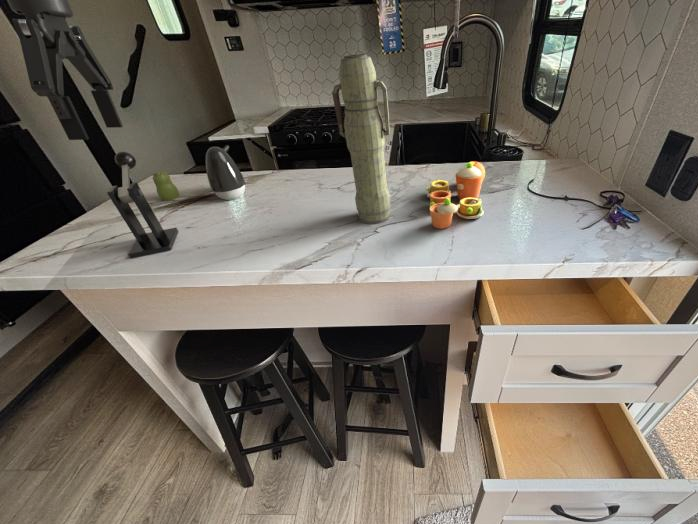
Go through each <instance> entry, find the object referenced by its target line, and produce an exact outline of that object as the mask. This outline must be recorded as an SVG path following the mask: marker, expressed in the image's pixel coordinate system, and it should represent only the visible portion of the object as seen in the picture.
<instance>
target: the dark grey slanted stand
mask: <svg viewBox="0 0 698 524" xmlns="http://www.w3.org/2000/svg"><path fill="white" fill-rule="evenodd" d="M118 188H119V185H112V187H110V188H109V190H107V191H106V194H107V195H108V197H109V199H110V200H111V202H112V204H113V205H114V207H115V208H116V210H117V211H118V213H119V215H120V216H121V218H122V219H123V221H124V222H125V224H126V226H127V227H128V228H129V230H130V232H131V233H132V235H133V236H134V238H135V242H134V243H133V245H132V247H131V248H130V250H129V252H128V253H127V255H128V257H129V259H136V258H140V257H143V256H149V255H154V254H155V255H156V254H159V253H164V252H170V251H172V249H173V247H174V244H175V241H176V239H177V236H178V234H179V230H178V228H177V227H171V228H166V229H164V228H163V227H162V225H161V223H160V221H159V219H158V217H157V215H156V214H155V213H154V210H153V209H152V207H151V205H150V203H149V202H148V200H147V198H146V196H145V194H144V193H143V191H142V189H141V187H140V186H139V184H138V182H137V181H136V182H132V183H130V186H129V187H128V188H127V190H128V192H129V194H130V195H131V197H132V199H133V201H134V202H133V203H134V204H135V206H136V207H137V210H138V211H139V213H140V215H141V216H142V218H143V220H144V221H145V222H146V224H147V226H148V228H149V230H150V231H151V232H150V231H149V232H146V230H145V228H144V226H143V225H142V224H141V221H140V220H139V219H138V217H137V215H136V214H135V212H134V210H133V209H132V207H131V205H130V203H126V204H125V203H124V202H123V201H122V200H121V199H120V198H119V197H118Z"/></svg>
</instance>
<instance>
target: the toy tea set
mask: <svg viewBox="0 0 698 524" xmlns="http://www.w3.org/2000/svg"><path fill="white" fill-rule="evenodd" d="M471 162H472V161H469V162H467V163H468V164H467V163H466V164H467V166H466V167H464V166H463V167H461V168H460V169H459V170H458V171H457V172H456V173H455V184H456V193H457V198H458V200H459V199H460V200H459V204H454V203H453V202H451V198H452V191H451V190H450V188H449V187H450V182H448V181H446V180H442V179H439V178H437V179H436V180H433V181H431V182H429V183H430V184H429V187H428V186H426V189H425V190H426V191H427V192H428V193H427V194H426V196H427V198H429V200H430V203H429V214H430V220H431V225H432V227H434V228H435V229H441V230H442V229H447V228H449V227H450V226H451V225H452V221H453V214H455V213H456V215H457V216H458V217H460V218H463V219H465V220H466V219H467V220H473V219H478V218H481V217H482V216H483V215H484V210H483V205H482V204H483V201H482V199H481V198H480V199H479V196H480V191H481V188H482V183H483V181H484V179H483V173H482V172H481V171H480V170H479V169H477V168H476V167H473V164H472V163H471ZM482 180H483V181H482Z"/></svg>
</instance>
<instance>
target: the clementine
mask: <svg viewBox="0 0 698 524" xmlns="http://www.w3.org/2000/svg"><path fill="white" fill-rule="evenodd" d="M470 162H471V163H472V164H473V167H476V168H477V169H479V170H480V171H481V172H482V173H483V180H482V182H483V181H484V179H485V176H486V171H485V170H486V169H485V167H484V165H483V164H482V163H481V162H479V161H476V160H473V161H470ZM468 163H469V162H467V163H465V165H464V166H463V167H466V166H467V164H468Z"/></svg>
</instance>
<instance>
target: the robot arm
mask: <svg viewBox="0 0 698 524" xmlns="http://www.w3.org/2000/svg"><path fill="white" fill-rule="evenodd" d="M6 1H7V3H8V5H9V7H10V9H11V10H12V12H14V13H15V14H18V15H22V16H25V18H12V19H11V21H12V24H13V27H14V29H15V31H16V34H17V36H18V38H19V39H18V40H19V43H20V46H21V51H22V55H23V59H24V60H23V61H24V63H25V68H26V72H27V76H28V80H29V85H30V88H31V90H32V91H33V93H36V95H37V96H38V97H47V99H48V101H49V103H50V105H51V107H52V109H53V112H54V113H55V116H56V117H57V119H58V121H59V123H60V125H61V127H62V129H63V130H64V132H65V135H66V136H67V138H68V140H69V141H84V140H85V141H86V140H90V138H89V136H88V134H87V131H86V130H85V129H86V128H85V127H84V125H83V123H82V121H81V119H80V117H79V114H78V113H77V110H76V108H75V106H74V104H73V102H72V100H71V97H70V96H68V95H65V89H64V88H65V87H64V69H63V61H64V59H65V60H68V61H69V62H70V63H71V65H72V66H73V67H74V68H75V69H76V71H77V72H78V73H79V74H80V76H82V78H83V79H84V80H85V81H86V82H87V83H88V85H89V86H90V87H91V88H92V89H93V90H92V89H91V90H90V93H91V96H92V97H93V98H94V101H95V104H96V106H97V109H98V111H99V113H100V115H101V118H102V120H103V122H104V125H105V126H106V128H109V129H110V128H123V127H124V124H123V123H122V120H121V118H120V116H119V114H118V110H117V109H116V106H115V104H114V101H113V99H112V96H111V94H110V92H109V91H113V90H114V87H113V83H112V81H111V79H110V77H109V76H108V74H107V73H106V71H105V69H104V68H103V66H102V64H101V62H100V61H99V60H98V58H97V56H96V54H95V53H94V51H93V50H92V49H91V46H90V44H89V43H88V42H87V39H86V38H85V36H84V33H83V31H82V29H81V28H80V26H79V25H69V24H68V22H67V20H66V18H67V19H69V18H72V17H73V16H74V12H73V9H72V7H71V5H70V3H69V0H6Z"/></svg>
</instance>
